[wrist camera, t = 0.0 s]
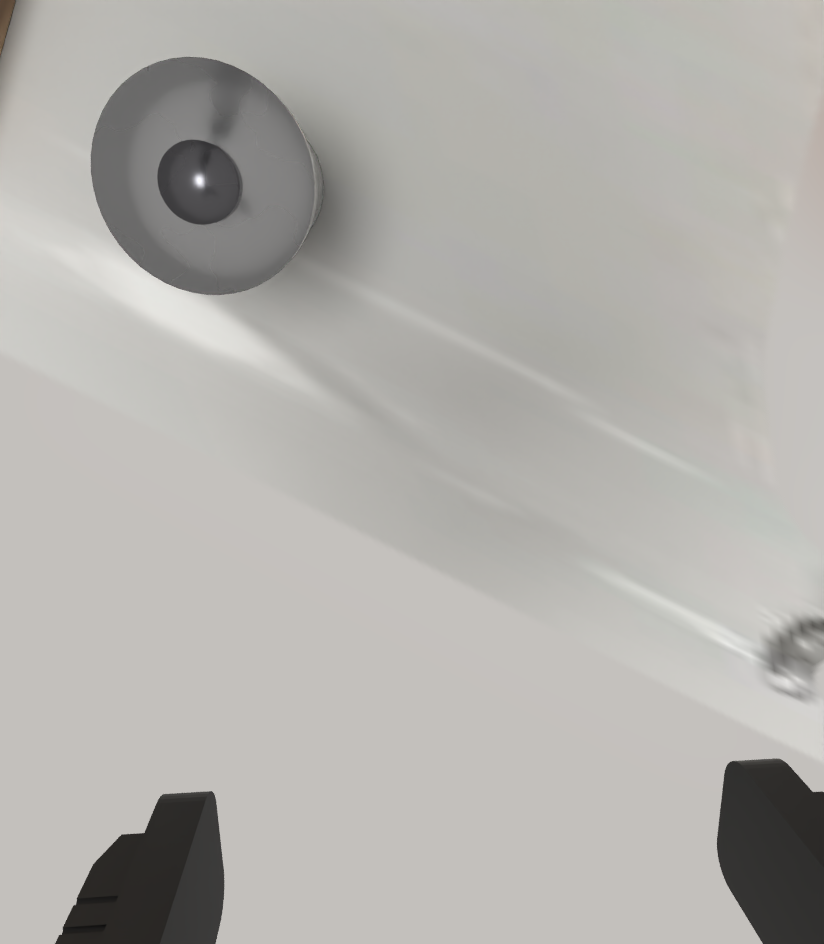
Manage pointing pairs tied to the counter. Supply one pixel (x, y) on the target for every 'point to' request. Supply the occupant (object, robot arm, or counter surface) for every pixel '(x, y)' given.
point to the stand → (5, 18)
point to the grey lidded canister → (204, 176)
